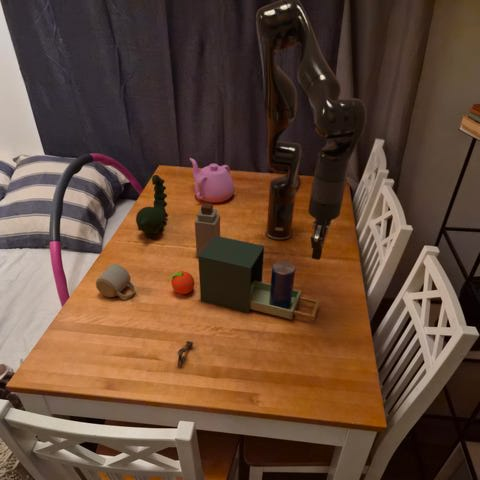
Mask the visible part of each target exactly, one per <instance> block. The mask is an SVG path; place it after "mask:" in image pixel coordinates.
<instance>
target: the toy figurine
mask: <svg viewBox="0 0 480 480" xmlns="http://www.w3.org/2000/svg"><path fill="white" fill-rule="evenodd" d="M151 183H152V186H153V191H154V193H153V198H154V200H153V206H144V207H143V208H141V209H140V210H139V211H138V212H137V214H136V216H135V222H136V223H135V224H136V226H137V230H138V231H140V232H142V233H143V236H144V238H146V239H148V240H149V239H155V238H156V237H157V233H158V232H159V231H160V230H161V231H162V230H164V229H165V226H166V225H167V223H168V222H167V220H166V218H168V216H169V214H168V212H167V211H166V207H167V206H168V202H167V201H166V200H165V199H166V198H167V197H168V195H167V194H166V193H165V190H166V189H167V187H166V186H165V185H164V183H165V180H164V179H162V178H161V177H160V176H159V174H154V175H152V177H151Z"/></svg>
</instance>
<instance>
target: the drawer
mask: <svg viewBox="0 0 480 480" xmlns="http://www.w3.org/2000/svg"><path fill="white" fill-rule="evenodd" d="M270 287H271V283H268V282H263V281H262V282H260V281H255V280H254V281H253V282H252V284H251V291H250V309H251V310H252V311H257V312H261V313H264V314H268V315H271V316H272V315H273V316H276V317H281V318H285V319H288V320H291V321H292V320H293V317H294V315H296V316H301V317H304V318H309V319H310V320H315V318H316V315H317V312H318V309H319V306H320V303H321V300H320V299H313V298H308V297H304V296H302V290H301V289H299V290H298V289H294V288H293V291H292V299H291V306H290V307H289V308H288V309H285V308H281V307H277V306H273V305H269V298H270ZM300 301H302V302H306V303H311V304H314V306H313V307H312V311H311V313H307V312H304V311H299V310H297V308H298V306H299V303H300Z"/></svg>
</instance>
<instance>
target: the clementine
mask: <svg viewBox="0 0 480 480" xmlns="http://www.w3.org/2000/svg"><path fill="white" fill-rule="evenodd" d="M170 279H171V287H172V289H173V290H174V292H176V293H177V294H179V295H185V294H189V293H191V292H192V291H193V289H194V288H195V287H194V286H195V278H194V276H193V275H192V274H191V273H190V272H188V271H186V270H185V271H184V270H182V271H178V272H176V273H173V274H172V275H170V277H169V278H168V279H167V281H169V280H170Z"/></svg>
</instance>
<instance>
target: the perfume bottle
mask: <svg viewBox="0 0 480 480" xmlns="http://www.w3.org/2000/svg"><path fill="white" fill-rule="evenodd" d="M217 213H218V208H214V203H210V202H203V203H202V204H201V206H200V209H199V211H198V212H197V214H196V216H197V217H196V219H195V221H194V232H195V248H196V258H197V259H198V256H199V255H200V253H201V252H202V251H203V250H204V249H205V247H206V246H207V245H208V244H209V242H210V241H211V240H212V239H213V238H214V236H220V237H221V214H217Z"/></svg>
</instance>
